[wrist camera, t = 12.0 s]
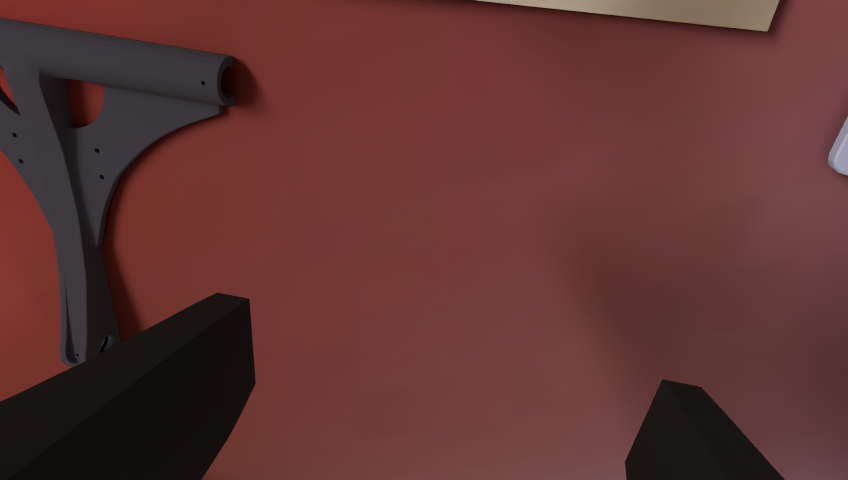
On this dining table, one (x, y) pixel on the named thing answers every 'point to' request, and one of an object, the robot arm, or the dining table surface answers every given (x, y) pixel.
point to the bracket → (93, 145)
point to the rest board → (673, 10)
